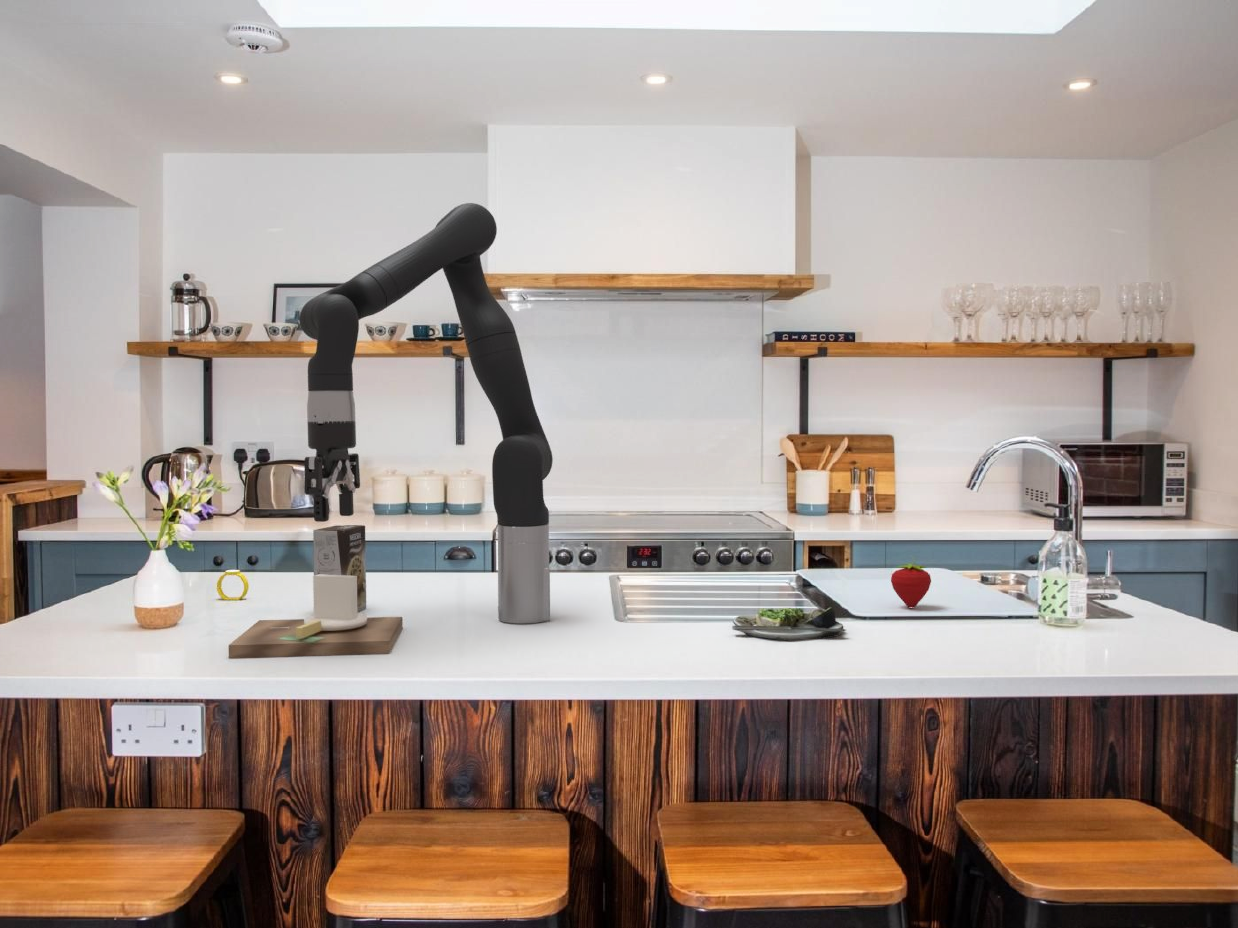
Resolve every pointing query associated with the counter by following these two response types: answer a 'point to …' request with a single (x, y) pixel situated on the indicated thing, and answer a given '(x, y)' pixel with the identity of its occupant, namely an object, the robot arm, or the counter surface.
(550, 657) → the counter surface
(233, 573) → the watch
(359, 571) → the coffee box
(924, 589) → the strawberry
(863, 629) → the counter surface
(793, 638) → the salad plate
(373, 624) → the dial board
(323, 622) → the dial knob
